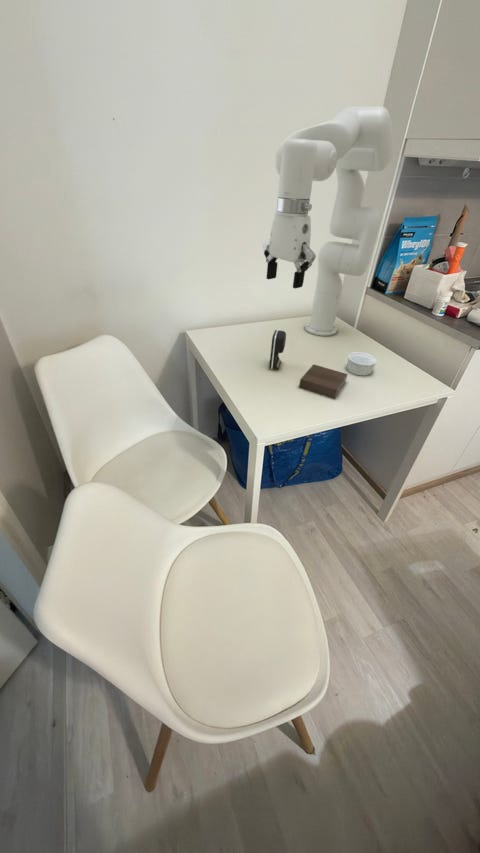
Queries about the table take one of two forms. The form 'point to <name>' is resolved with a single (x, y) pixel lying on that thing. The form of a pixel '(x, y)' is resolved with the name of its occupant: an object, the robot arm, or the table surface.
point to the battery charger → (277, 349)
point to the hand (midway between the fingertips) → (284, 282)
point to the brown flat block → (323, 381)
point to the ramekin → (360, 363)
